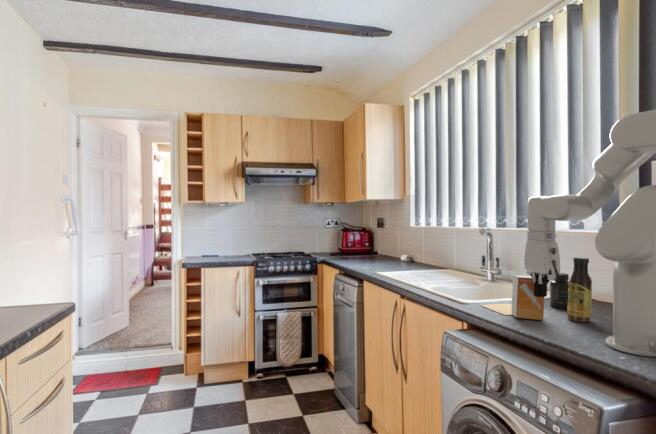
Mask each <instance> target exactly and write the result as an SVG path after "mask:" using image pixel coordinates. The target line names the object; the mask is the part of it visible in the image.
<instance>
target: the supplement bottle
mask: <svg viewBox="0 0 656 434" xmlns="http://www.w3.org/2000/svg"><path fill="white" fill-rule="evenodd" d="M569 277H570V276H569V274H568V273H563V272H560V273H559V274H557V275H556V279H554V280H550V281H549V303H550V304H549V305H550V307H551V308H554V309H559V310H560V309H561V310H567V305H568V283H569V281H570V279H569Z"/></svg>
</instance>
